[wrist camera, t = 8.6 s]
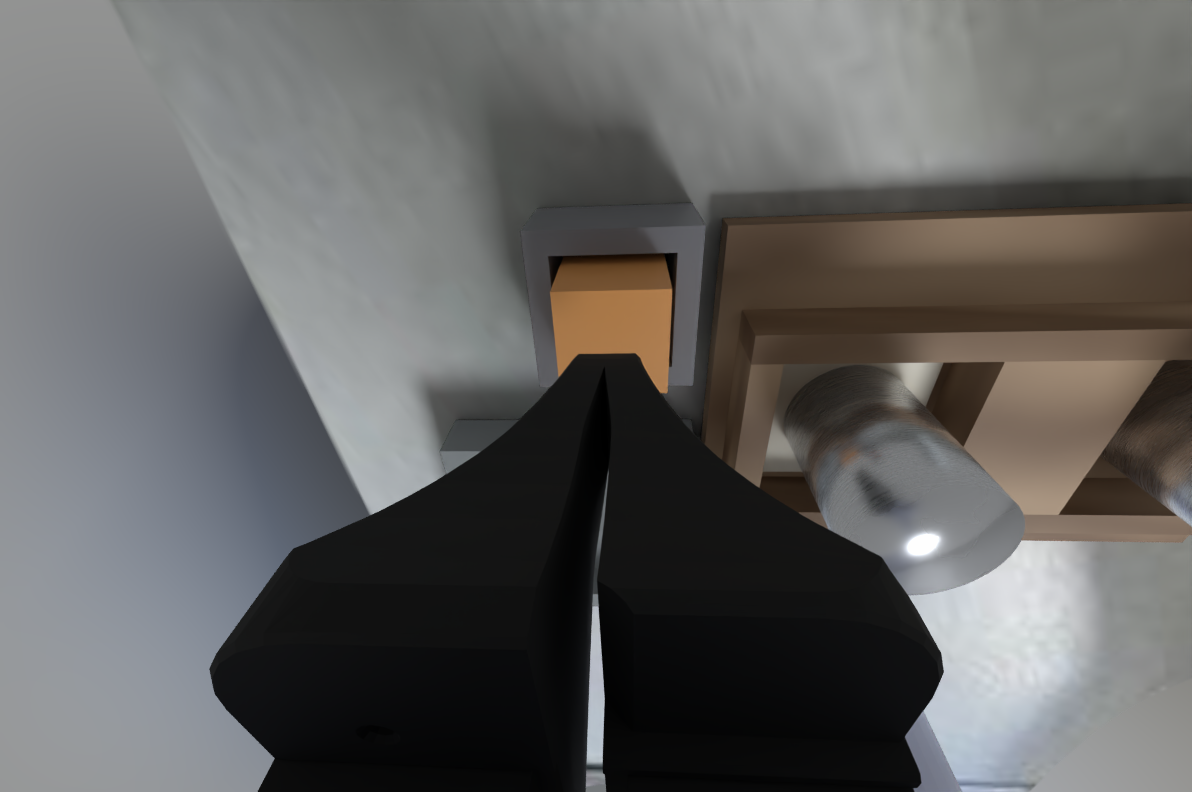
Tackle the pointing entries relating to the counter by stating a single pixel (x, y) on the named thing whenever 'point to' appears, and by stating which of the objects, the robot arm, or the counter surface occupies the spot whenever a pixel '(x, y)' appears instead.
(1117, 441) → the cylinder
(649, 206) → the button housing
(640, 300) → the button
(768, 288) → the wooden compartment tray
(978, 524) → the billet
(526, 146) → the counter surface
